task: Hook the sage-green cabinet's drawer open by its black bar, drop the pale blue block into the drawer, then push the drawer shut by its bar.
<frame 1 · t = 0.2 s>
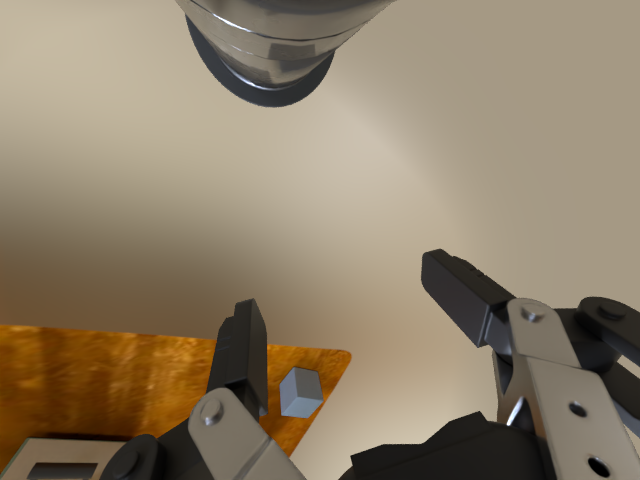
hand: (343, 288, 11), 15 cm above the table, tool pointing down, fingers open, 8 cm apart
block: (298, 377, 39), on the table
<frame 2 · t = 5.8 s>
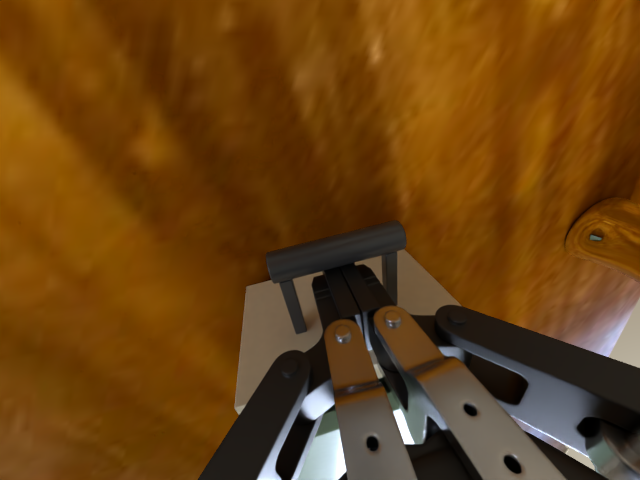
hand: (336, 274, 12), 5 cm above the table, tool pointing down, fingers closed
metal cup: (591, 226, 22), on the table
drawer: (350, 359, 16), point 5 cm above the table, slide at 1.1 cm
cabinet: (340, 347, 23), on the table
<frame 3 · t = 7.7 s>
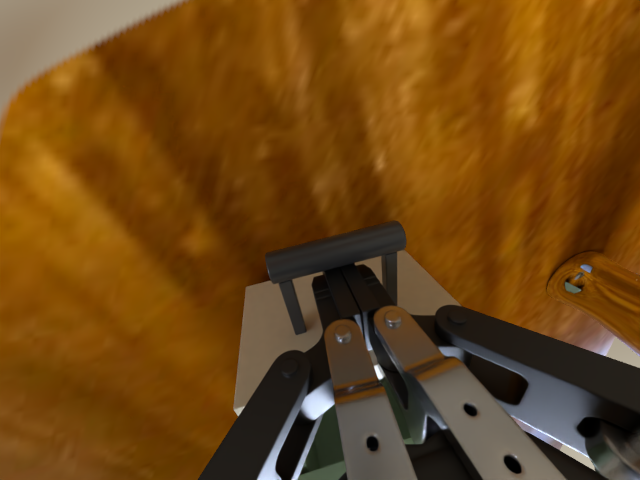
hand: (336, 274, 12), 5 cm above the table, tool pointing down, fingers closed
metal cup: (570, 274, 25), on the table
drawer: (350, 359, 16), point 5 cm above the table, slide at 6.8 cm
cabinet: (346, 380, 26), on the table
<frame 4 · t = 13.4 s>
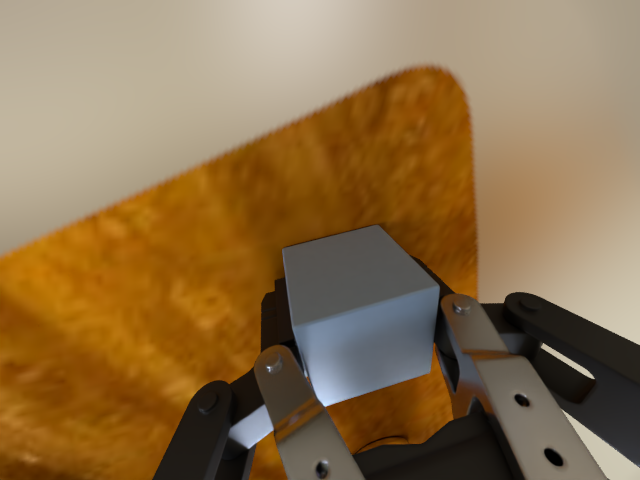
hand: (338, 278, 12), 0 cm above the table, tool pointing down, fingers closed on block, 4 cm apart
block: (337, 274, 12), on the table, touching gripper
metal cup: (379, 450, 24), on the table
when the fingers open (9 cm above the table, at t = 20.1 s): block drops 7 cm, resting on drawer.
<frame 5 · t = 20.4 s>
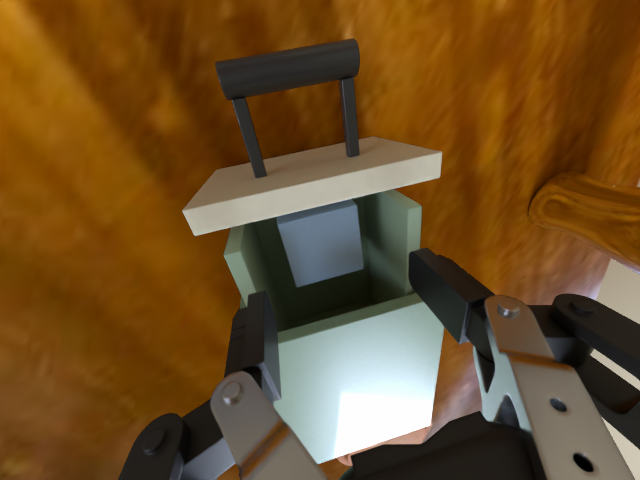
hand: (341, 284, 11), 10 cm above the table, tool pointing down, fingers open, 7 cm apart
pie: (374, 412, 39), on the table
block: (311, 219, 18), point 2 cm above the table, touching drawer
metal cup: (551, 199, 25), on the table
drawer: (320, 242, 16), point 5 cm above the table, slide at 6.8 cm, touching block
cabinet: (328, 307, 26), on the table
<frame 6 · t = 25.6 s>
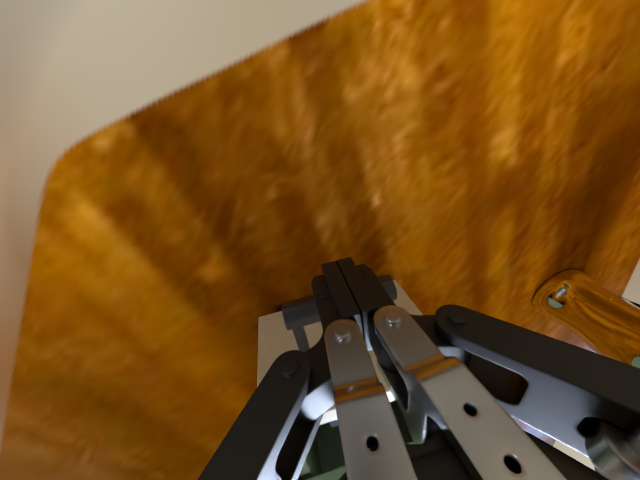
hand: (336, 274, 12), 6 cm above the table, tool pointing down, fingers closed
metal cup: (554, 289, 27), on the table
drawer: (350, 381, 18), point 5 cm above the table, slide at 5.9 cm, touching block, gripper
cabinet: (346, 388, 28), on the table
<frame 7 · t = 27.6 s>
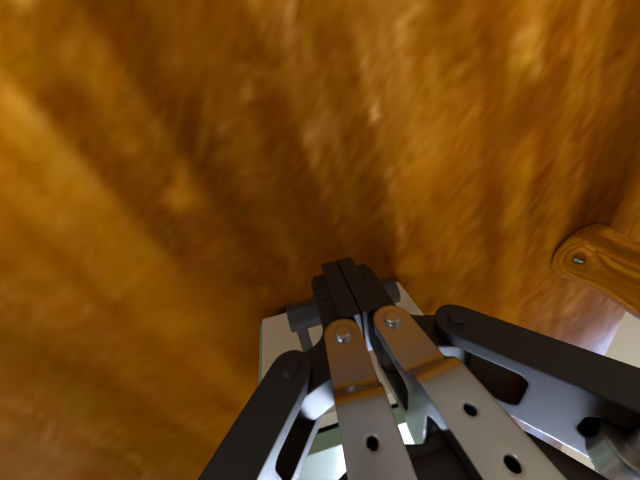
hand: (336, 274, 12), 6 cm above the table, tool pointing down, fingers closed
metal cup: (575, 249, 24), on the table
drawer: (354, 383, 18), point 5 cm above the table, slide at 0.1 cm, touching block
cabinet: (342, 360, 25), on the table
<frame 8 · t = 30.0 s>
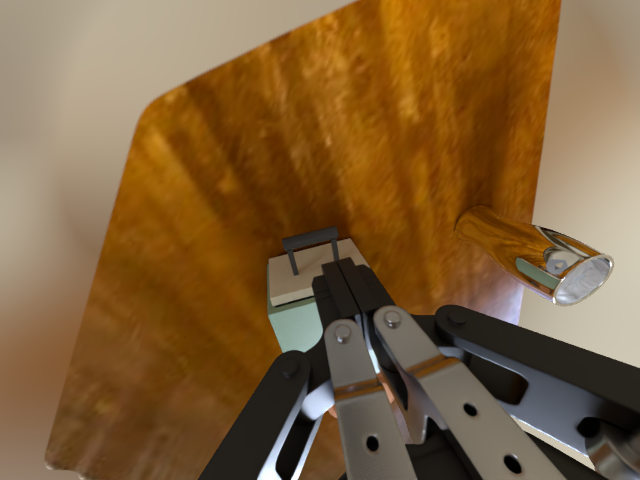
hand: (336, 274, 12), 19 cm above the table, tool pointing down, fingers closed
metal cup: (471, 222, 37), on the table
drawer: (322, 296, 31), point 5 cm above the table, slide at 0.1 cm, touching block
cabinet: (320, 295, 38), on the table
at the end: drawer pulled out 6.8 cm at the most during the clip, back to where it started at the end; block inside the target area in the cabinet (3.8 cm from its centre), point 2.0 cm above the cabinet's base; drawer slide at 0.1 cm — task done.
